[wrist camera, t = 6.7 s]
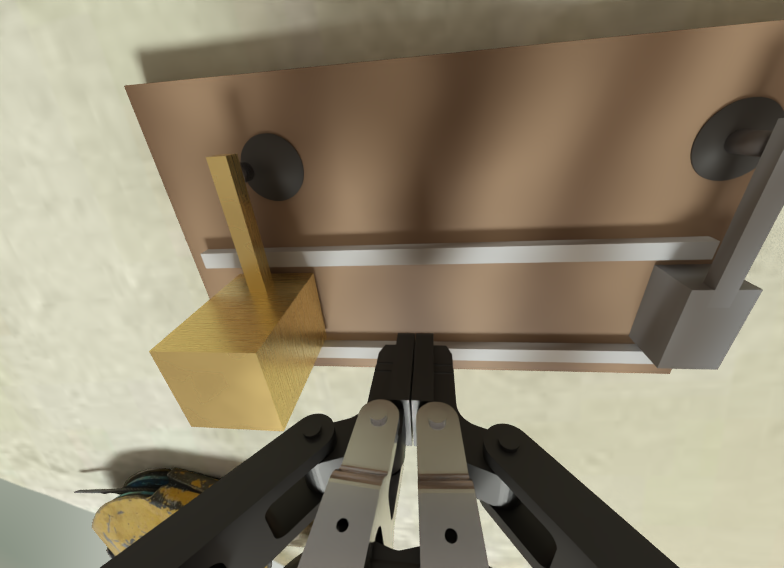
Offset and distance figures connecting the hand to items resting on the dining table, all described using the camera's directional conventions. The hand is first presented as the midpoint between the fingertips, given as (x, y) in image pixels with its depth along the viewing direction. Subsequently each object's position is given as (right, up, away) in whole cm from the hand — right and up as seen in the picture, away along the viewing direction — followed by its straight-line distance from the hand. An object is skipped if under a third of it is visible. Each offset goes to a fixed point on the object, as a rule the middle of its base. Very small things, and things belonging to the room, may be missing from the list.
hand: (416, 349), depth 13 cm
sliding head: (-7, +4, +2) cm, 8 cm away
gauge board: (+1, +5, +2) cm, 6 cm away
